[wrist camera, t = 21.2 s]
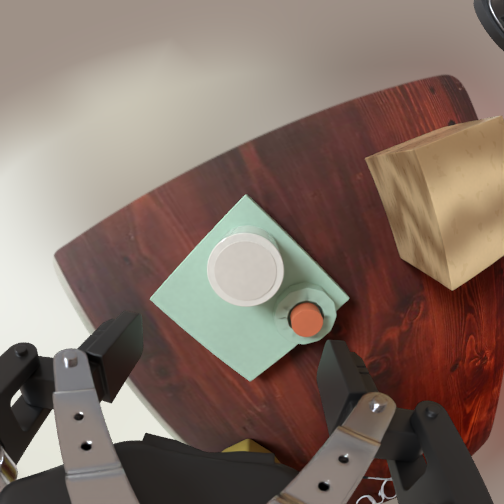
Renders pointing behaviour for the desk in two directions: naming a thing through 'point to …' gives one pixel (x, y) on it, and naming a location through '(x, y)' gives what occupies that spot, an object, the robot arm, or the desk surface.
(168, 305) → the scale
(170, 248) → the desk surface
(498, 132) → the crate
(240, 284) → the ramekin
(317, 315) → the button
